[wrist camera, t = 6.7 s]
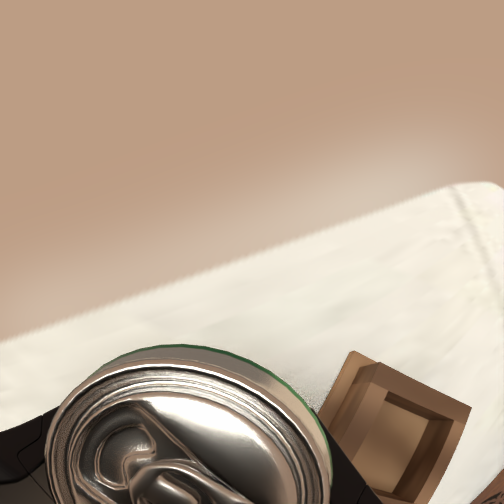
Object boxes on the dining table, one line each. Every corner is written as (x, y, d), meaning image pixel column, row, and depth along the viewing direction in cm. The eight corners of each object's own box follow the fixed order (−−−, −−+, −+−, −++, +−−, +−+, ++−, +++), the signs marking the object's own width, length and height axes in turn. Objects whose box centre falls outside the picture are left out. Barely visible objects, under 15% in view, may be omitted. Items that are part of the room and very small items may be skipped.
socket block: (391, 517, 15) (417, 532, 11) (274, 481, 17) (284, 501, 13) (450, 402, 20) (482, 398, 16) (349, 352, 22) (373, 342, 18)
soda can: (206, 358, 15) (139, 263, 4) (285, 410, 14) (415, 439, 3) (152, 428, 13) (-8, 471, 2) (231, 481, 12) (230, 634, 1)
